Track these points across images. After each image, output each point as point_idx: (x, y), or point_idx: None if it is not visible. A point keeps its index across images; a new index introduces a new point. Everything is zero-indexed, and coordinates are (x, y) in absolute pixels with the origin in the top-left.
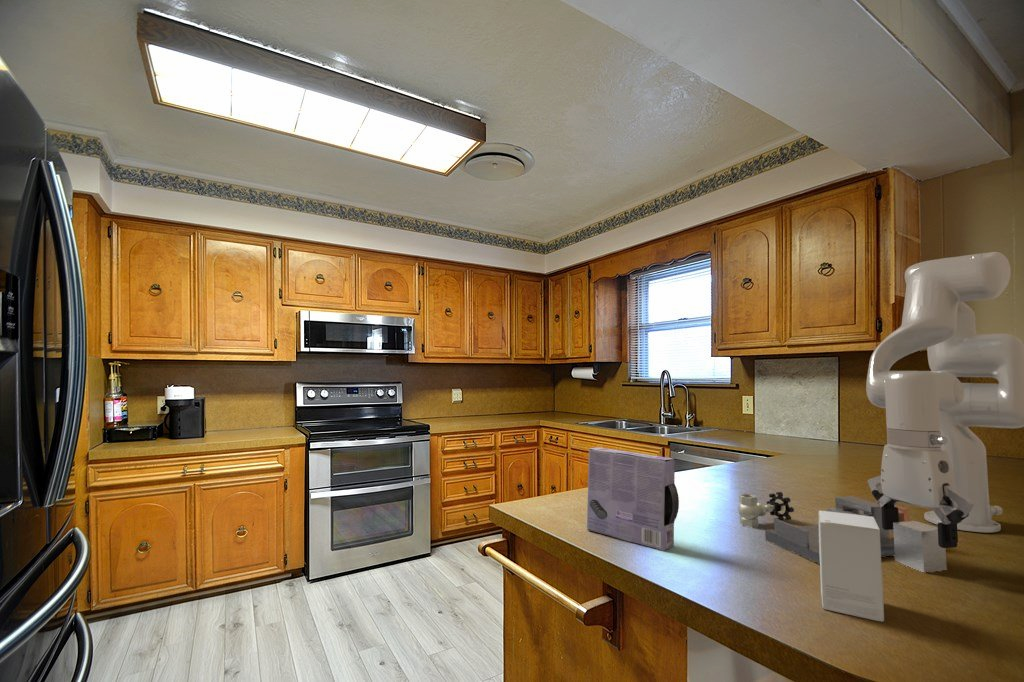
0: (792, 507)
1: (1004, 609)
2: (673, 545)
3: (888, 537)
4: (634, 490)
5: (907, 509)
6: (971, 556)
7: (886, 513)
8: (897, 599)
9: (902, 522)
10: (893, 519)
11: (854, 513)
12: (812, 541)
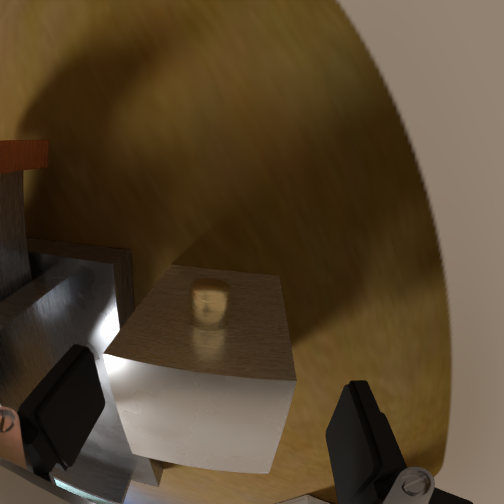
0: None
1: (439, 380)
2: (88, 499)
3: (63, 284)
4: None
5: None
6: (220, 23)
7: (77, 452)
8: (318, 477)
9: (132, 430)
10: (77, 402)
11: None
12: (90, 448)
